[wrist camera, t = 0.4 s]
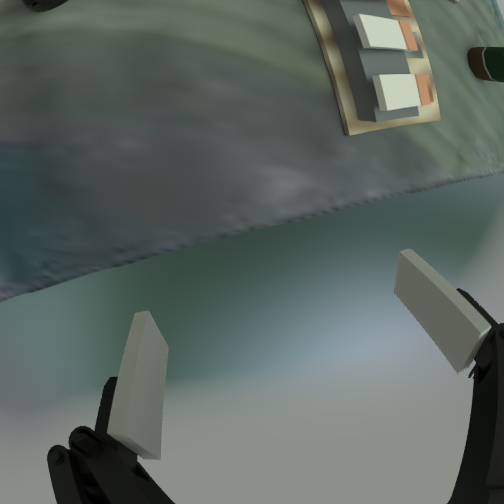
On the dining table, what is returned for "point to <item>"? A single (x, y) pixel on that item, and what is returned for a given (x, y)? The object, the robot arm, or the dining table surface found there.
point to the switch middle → (384, 33)
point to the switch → (401, 91)
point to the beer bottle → (487, 63)
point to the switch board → (339, 78)
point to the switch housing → (365, 57)
